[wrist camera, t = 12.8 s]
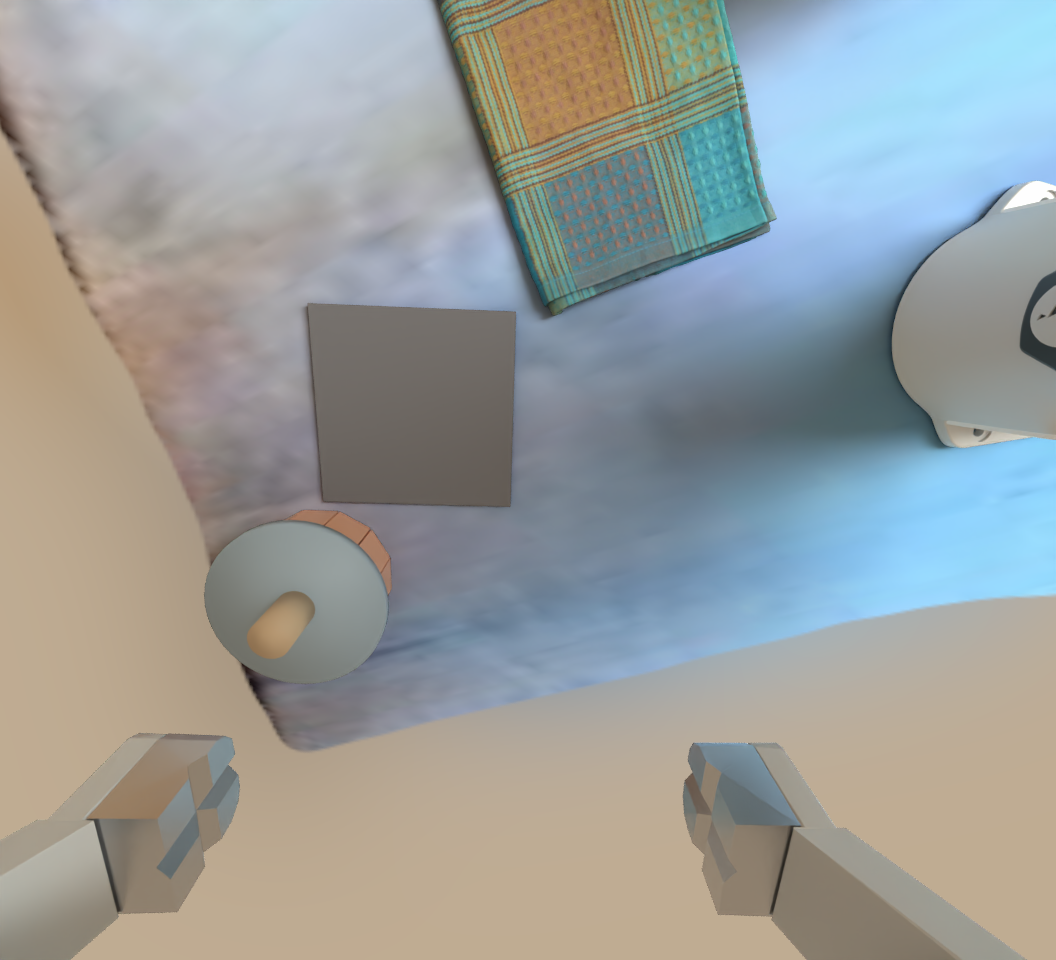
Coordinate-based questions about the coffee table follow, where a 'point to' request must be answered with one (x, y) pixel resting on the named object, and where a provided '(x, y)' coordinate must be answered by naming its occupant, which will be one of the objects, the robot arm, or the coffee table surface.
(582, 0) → the dish towel
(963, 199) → the coffee table surface
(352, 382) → the mat
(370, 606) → the lid
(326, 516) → the bowl
